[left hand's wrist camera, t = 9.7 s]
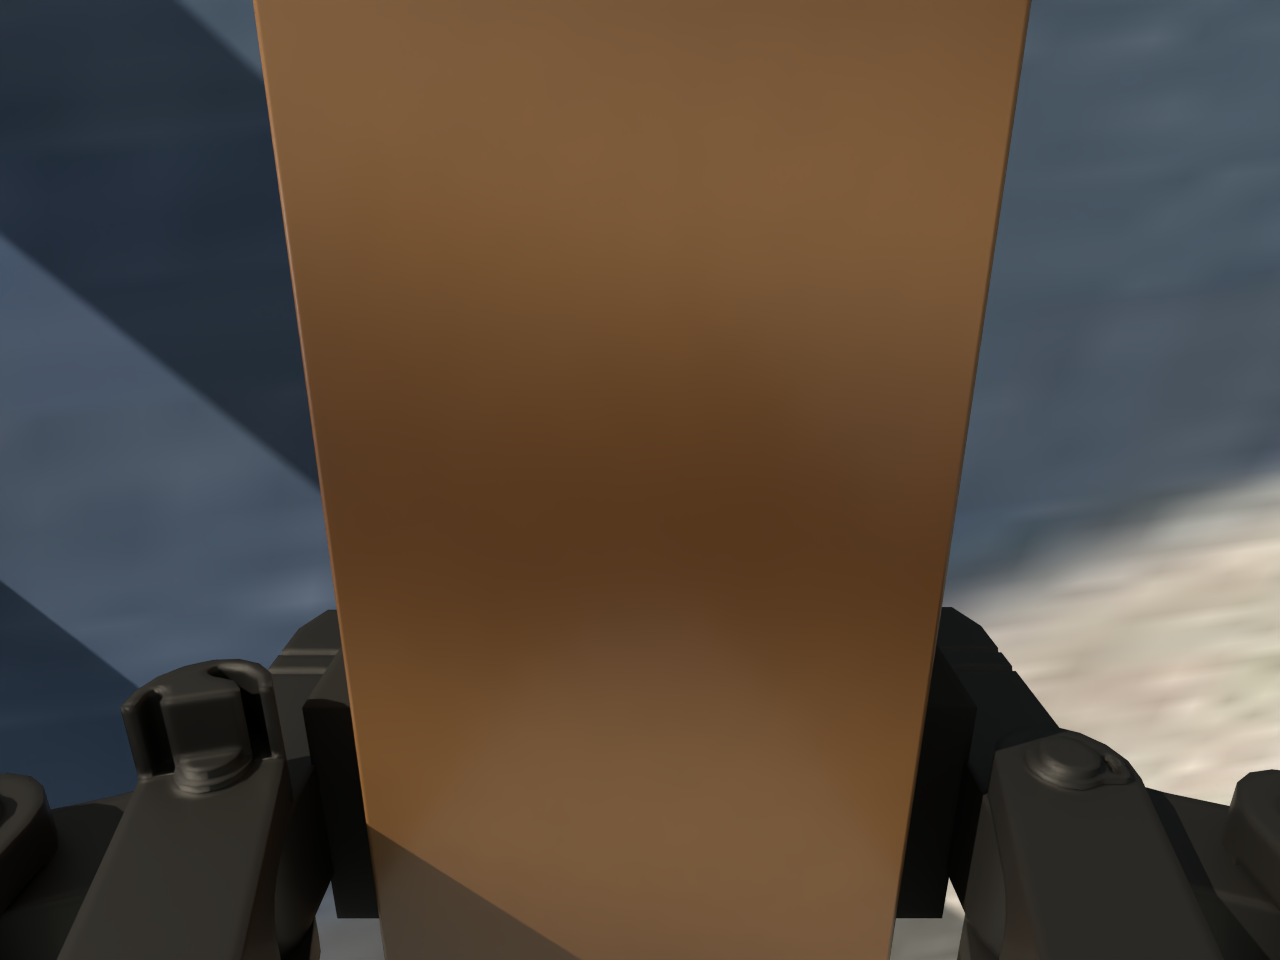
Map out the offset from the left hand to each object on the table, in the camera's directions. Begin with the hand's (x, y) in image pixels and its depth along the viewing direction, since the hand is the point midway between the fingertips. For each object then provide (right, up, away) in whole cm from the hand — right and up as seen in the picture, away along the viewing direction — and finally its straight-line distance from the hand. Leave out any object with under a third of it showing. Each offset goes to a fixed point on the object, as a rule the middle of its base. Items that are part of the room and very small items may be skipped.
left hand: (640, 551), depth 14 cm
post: (0, +27, -9) cm, 28 cm away
